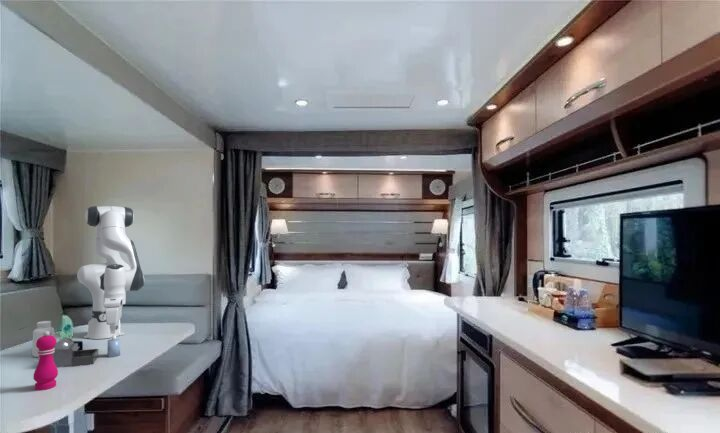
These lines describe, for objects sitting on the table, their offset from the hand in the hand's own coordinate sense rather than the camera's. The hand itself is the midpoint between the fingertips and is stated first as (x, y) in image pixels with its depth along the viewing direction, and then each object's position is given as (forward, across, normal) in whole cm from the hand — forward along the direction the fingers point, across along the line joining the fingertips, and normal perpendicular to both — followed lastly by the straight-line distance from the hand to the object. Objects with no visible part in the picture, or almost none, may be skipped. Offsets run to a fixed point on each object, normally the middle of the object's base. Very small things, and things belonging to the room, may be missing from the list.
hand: (114, 331), depth 197 cm
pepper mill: (+12, +35, -17) cm, 41 cm away
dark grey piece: (+11, +4, -14) cm, 19 cm away
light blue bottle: (+11, -1, 0) cm, 11 cm away
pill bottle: (+11, -15, -30) cm, 35 cm away
